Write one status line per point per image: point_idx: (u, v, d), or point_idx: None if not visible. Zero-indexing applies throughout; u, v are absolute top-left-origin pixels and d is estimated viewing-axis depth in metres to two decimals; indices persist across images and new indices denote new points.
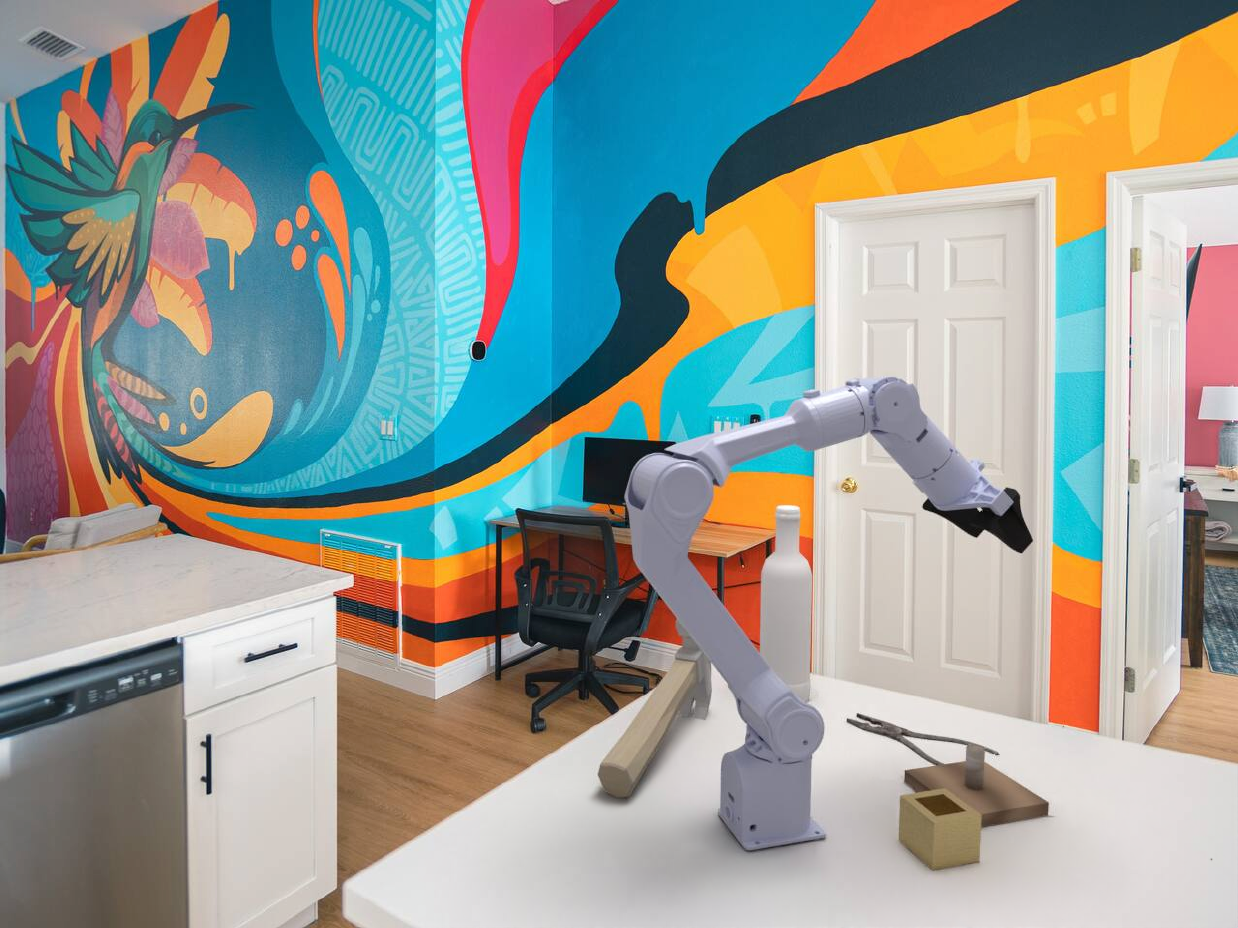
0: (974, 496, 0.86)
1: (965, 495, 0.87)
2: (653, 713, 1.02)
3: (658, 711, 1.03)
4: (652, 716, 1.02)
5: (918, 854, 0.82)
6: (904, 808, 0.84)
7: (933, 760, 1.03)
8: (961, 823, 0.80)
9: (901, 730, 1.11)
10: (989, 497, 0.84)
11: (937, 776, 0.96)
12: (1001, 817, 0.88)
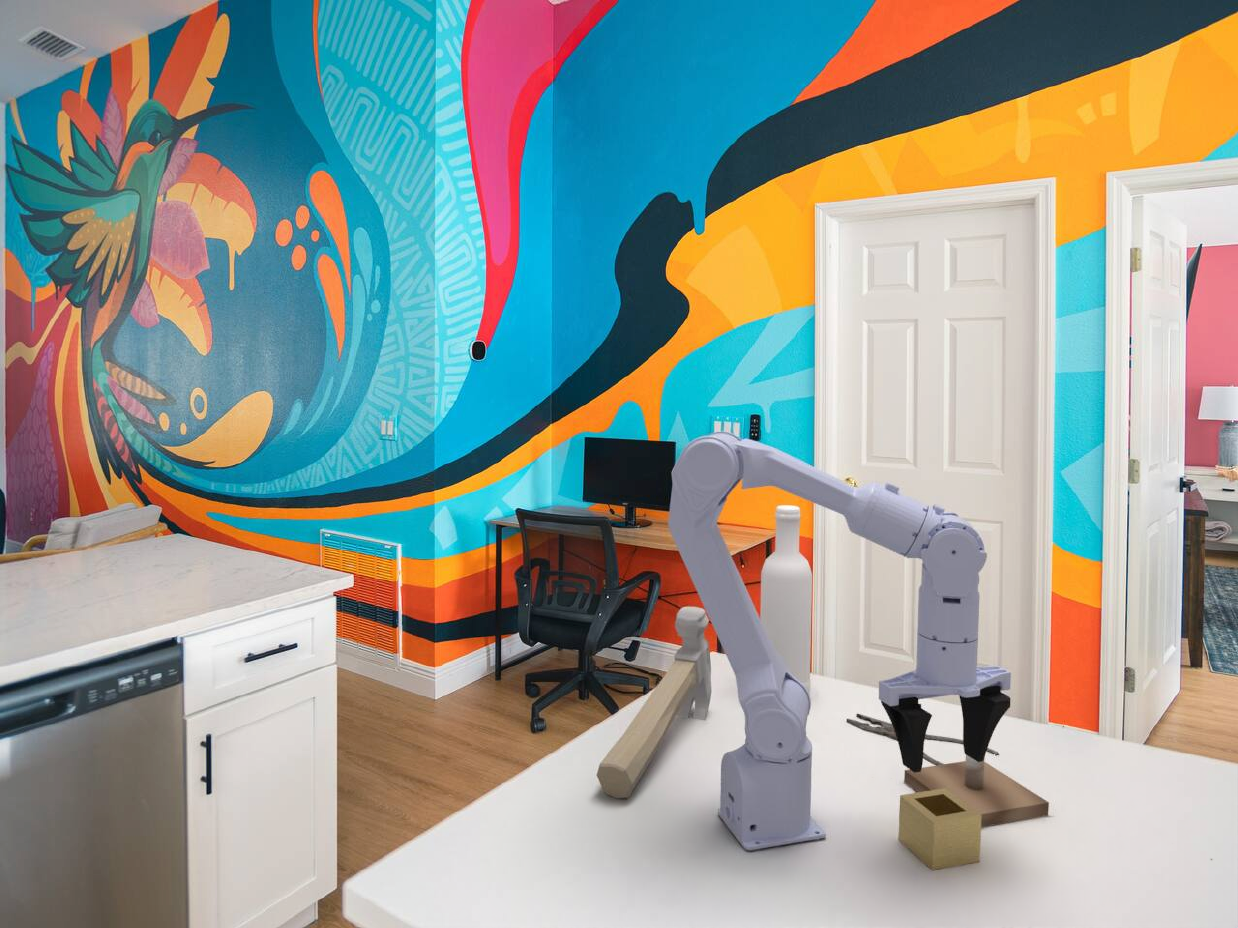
0: None
1: (917, 677, 0.81)
2: (653, 714, 1.02)
3: (658, 712, 1.02)
4: (652, 717, 1.01)
5: (918, 854, 0.82)
6: (904, 808, 0.84)
7: (933, 760, 1.03)
8: (961, 823, 0.80)
9: None
10: None
11: (937, 776, 0.96)
12: (1001, 817, 0.88)
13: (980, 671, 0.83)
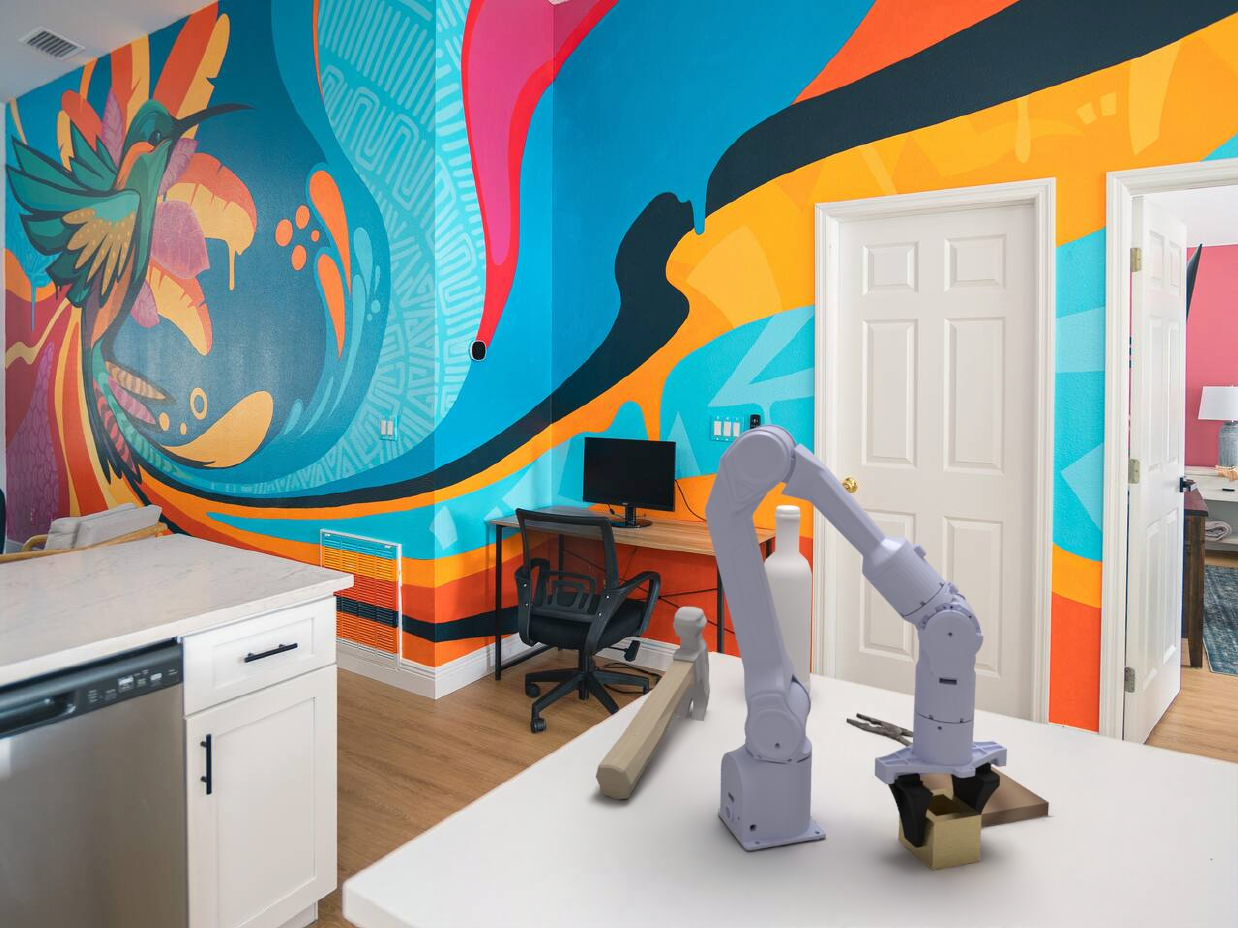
0: None
1: (913, 753, 0.82)
2: (651, 714, 1.02)
3: (656, 712, 1.02)
4: (651, 717, 1.01)
5: (918, 854, 0.82)
6: None
7: None
8: (961, 823, 0.80)
9: (901, 730, 1.11)
10: None
11: (937, 776, 0.96)
12: (1001, 817, 0.88)
13: (976, 747, 0.83)
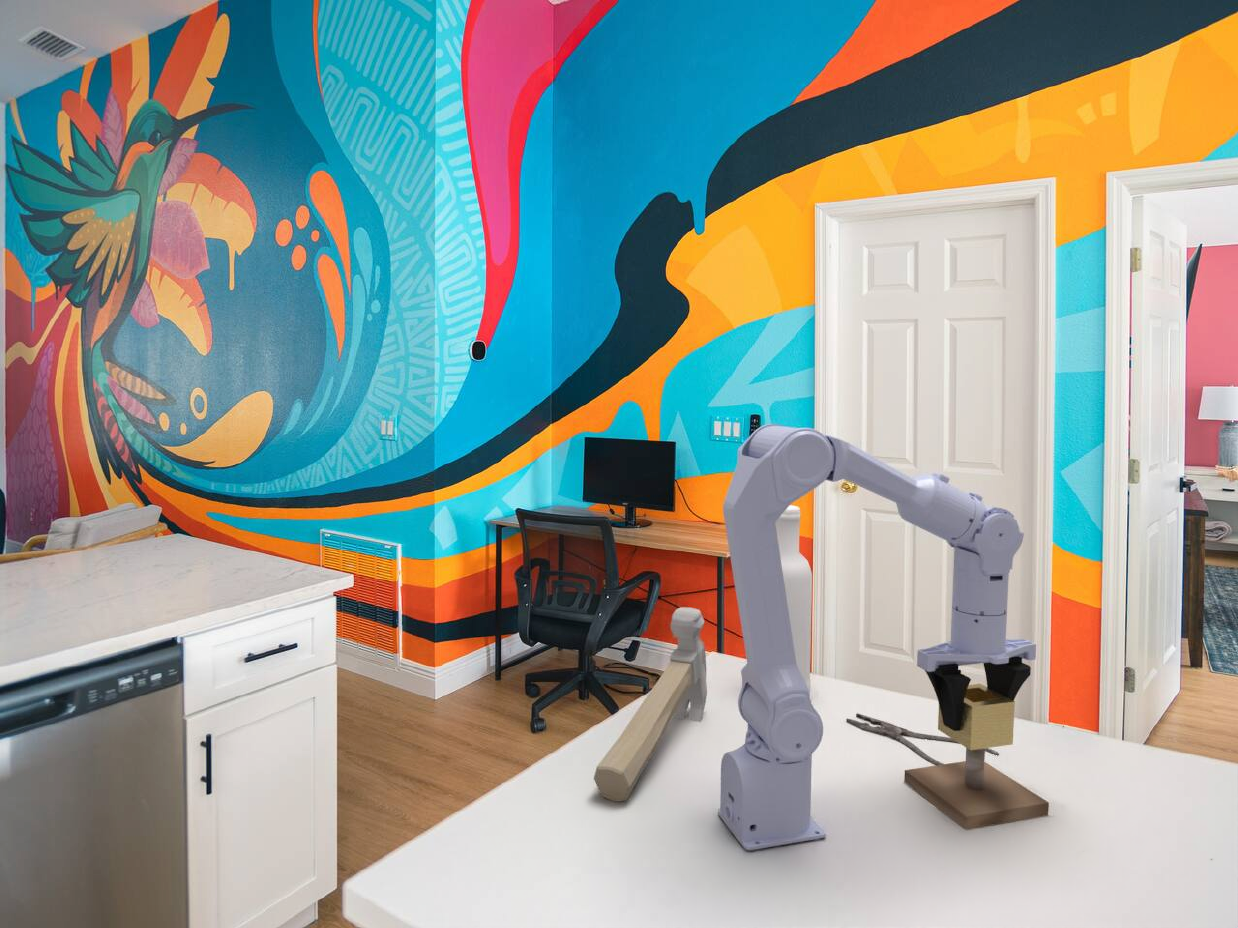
0: None
1: (952, 646, 0.91)
2: (649, 715, 1.01)
3: (654, 713, 1.02)
4: (648, 718, 1.01)
5: (956, 738, 0.91)
6: None
7: (933, 760, 1.02)
8: (996, 709, 0.89)
9: (901, 730, 1.11)
10: None
11: (937, 776, 0.96)
12: (1001, 817, 0.88)
13: (1008, 643, 0.92)
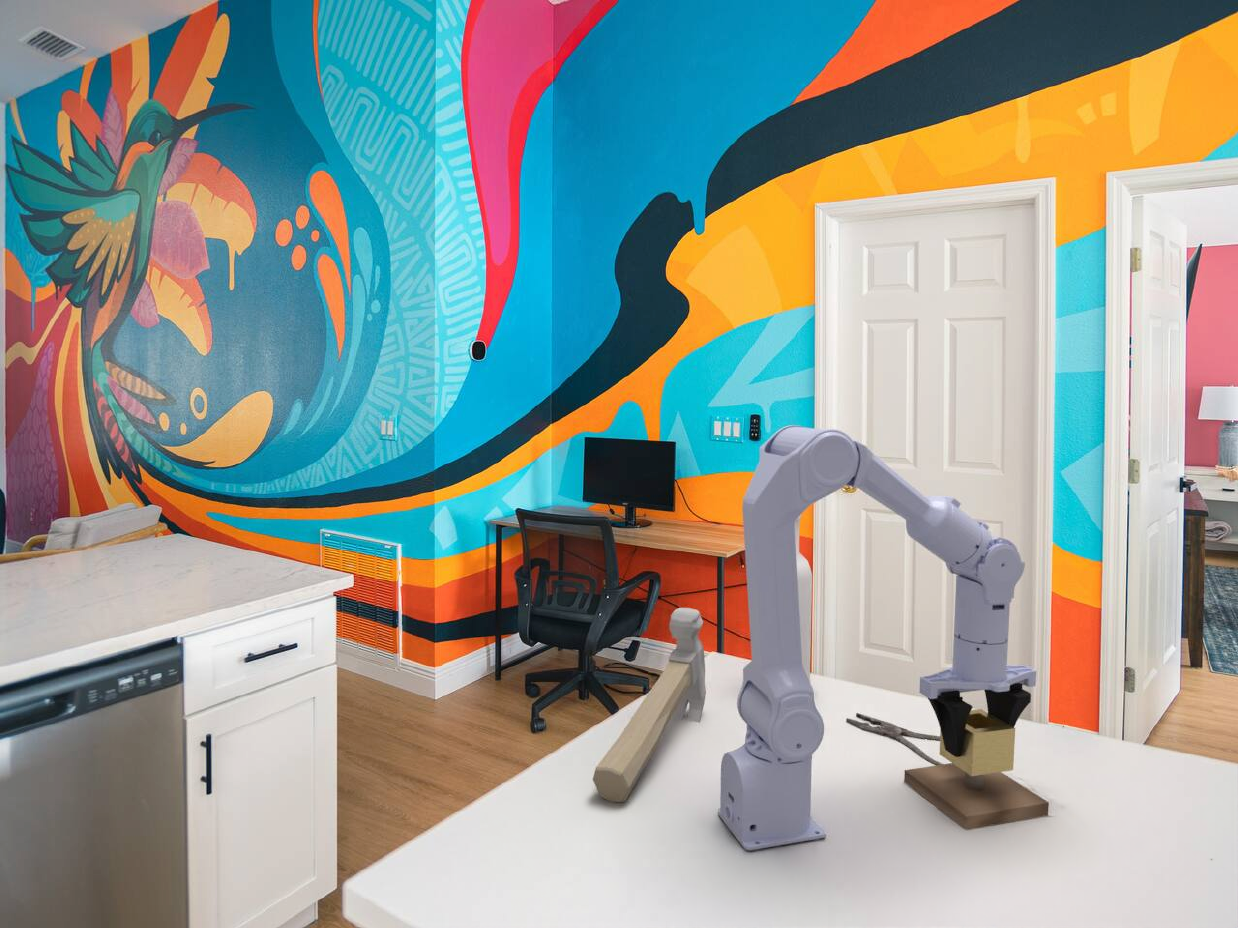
0: None
1: (953, 673, 0.92)
2: (648, 716, 1.01)
3: (653, 714, 1.02)
4: (647, 719, 1.01)
5: (958, 764, 0.92)
6: None
7: (933, 761, 1.02)
8: (997, 735, 0.90)
9: (901, 730, 1.11)
10: None
11: (937, 776, 0.96)
12: (1001, 817, 0.88)
13: (1009, 669, 0.94)
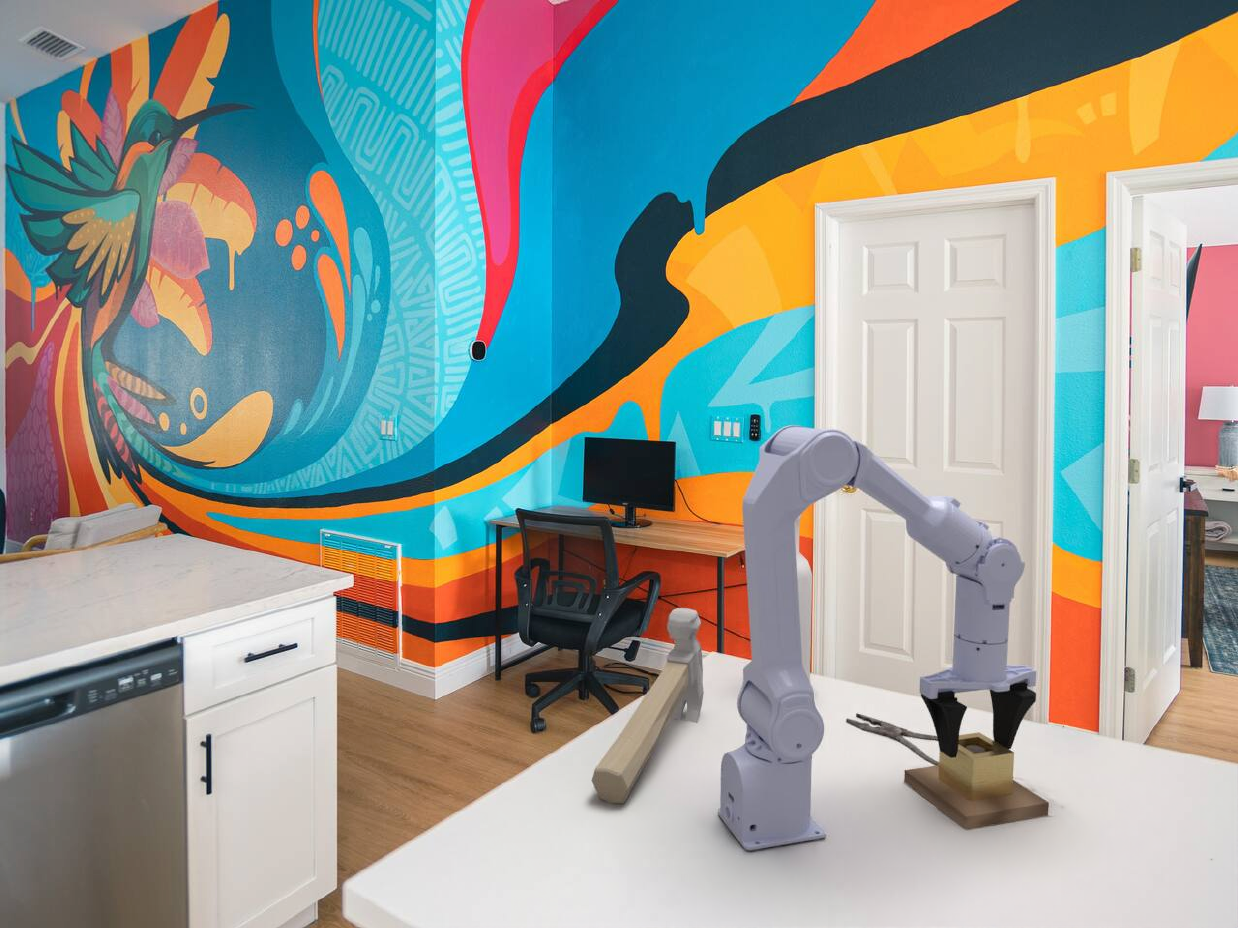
0: None
1: (953, 673, 0.92)
2: (647, 717, 1.01)
3: (652, 715, 1.01)
4: (646, 720, 1.00)
5: (957, 788, 0.92)
6: None
7: (933, 760, 1.02)
8: (996, 760, 0.91)
9: (901, 730, 1.11)
10: None
11: (937, 776, 0.96)
12: (1001, 817, 0.88)
13: (1009, 669, 0.94)
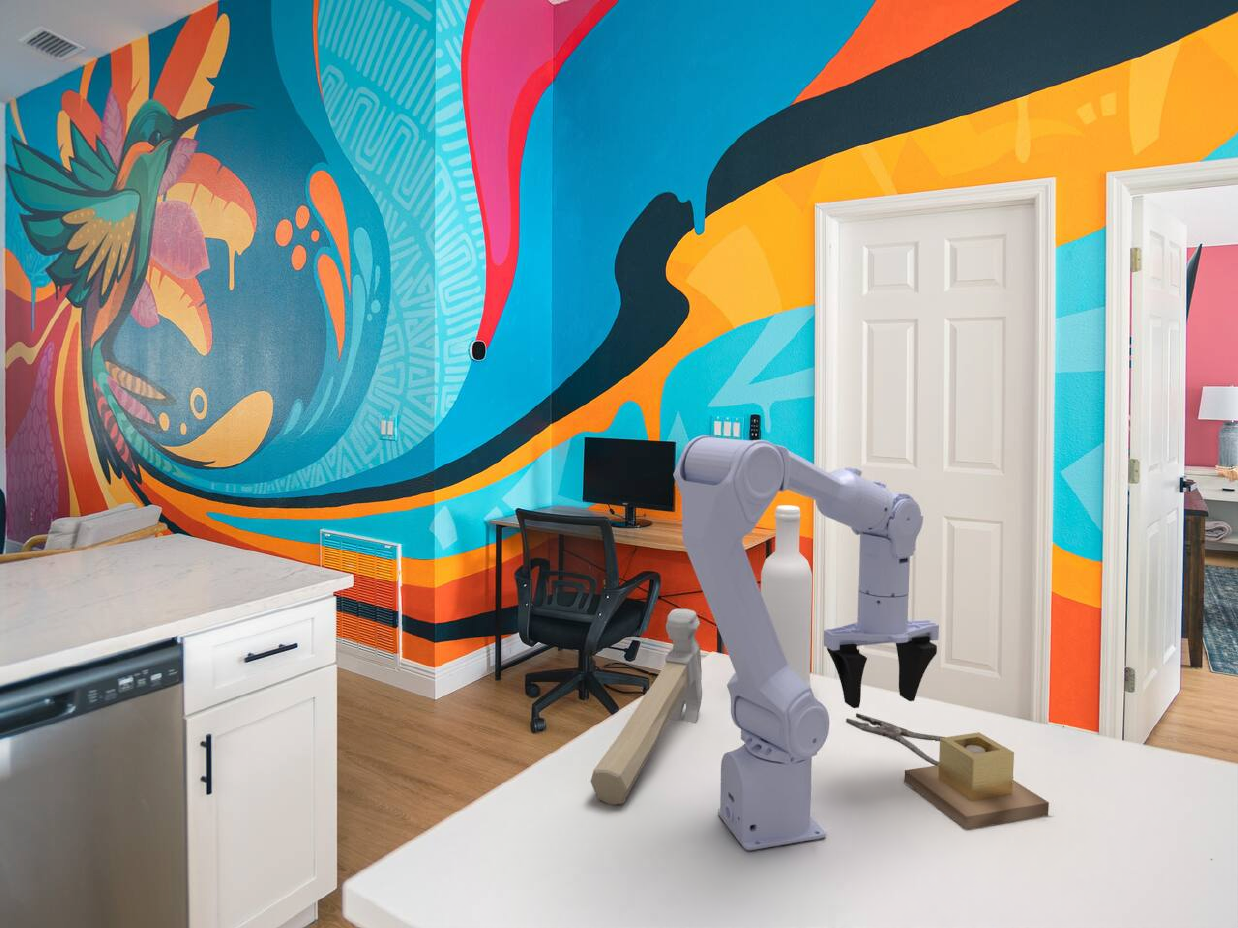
0: None
1: (857, 627, 0.95)
2: (646, 718, 1.01)
3: (650, 716, 1.01)
4: (645, 721, 1.00)
5: (957, 788, 0.92)
6: (944, 749, 0.94)
7: (933, 760, 1.02)
8: (996, 760, 0.91)
9: (901, 730, 1.11)
10: None
11: (937, 776, 0.96)
12: (1001, 817, 0.88)
13: (912, 624, 0.97)
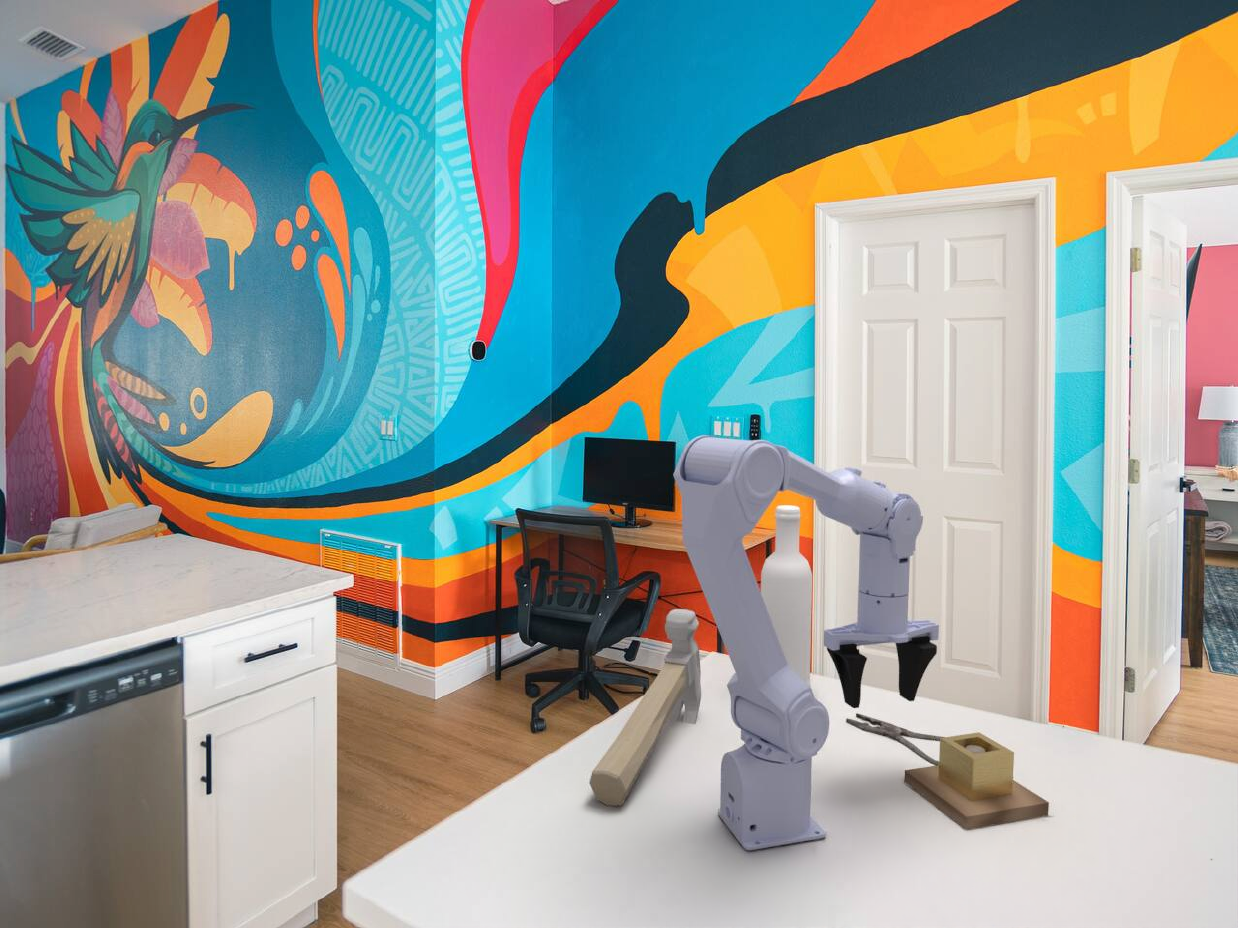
0: None
1: (857, 627, 0.95)
2: (644, 719, 1.00)
3: (649, 716, 1.01)
4: (644, 722, 1.00)
5: (957, 788, 0.92)
6: (944, 749, 0.94)
7: (932, 760, 1.02)
8: (996, 760, 0.91)
9: (901, 730, 1.11)
10: None
11: (937, 776, 0.96)
12: (1001, 817, 0.88)
13: (912, 624, 0.97)
